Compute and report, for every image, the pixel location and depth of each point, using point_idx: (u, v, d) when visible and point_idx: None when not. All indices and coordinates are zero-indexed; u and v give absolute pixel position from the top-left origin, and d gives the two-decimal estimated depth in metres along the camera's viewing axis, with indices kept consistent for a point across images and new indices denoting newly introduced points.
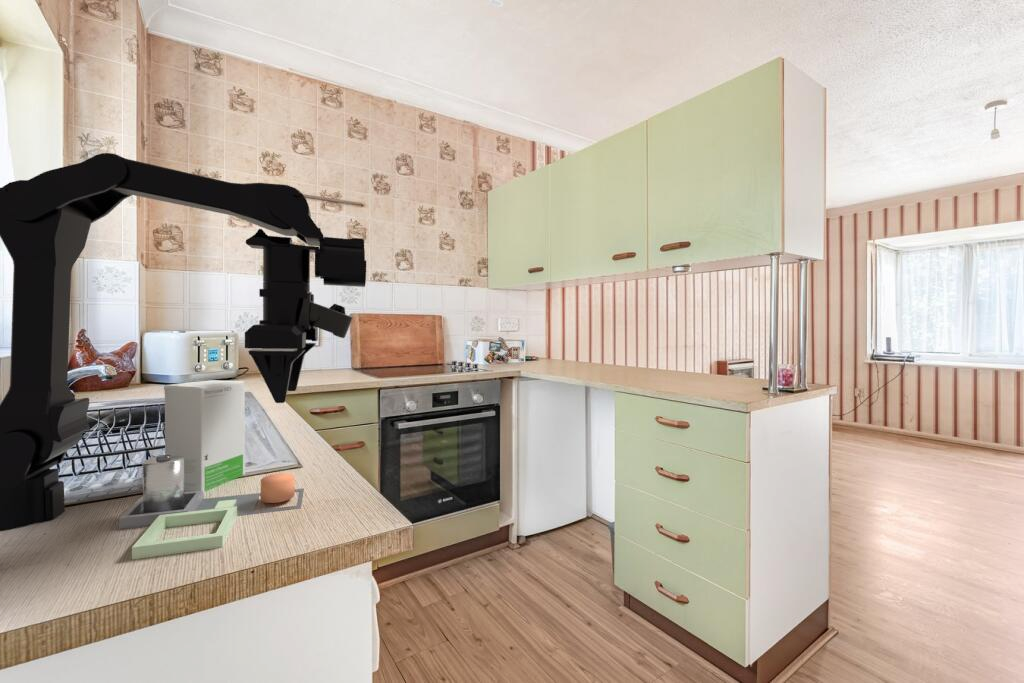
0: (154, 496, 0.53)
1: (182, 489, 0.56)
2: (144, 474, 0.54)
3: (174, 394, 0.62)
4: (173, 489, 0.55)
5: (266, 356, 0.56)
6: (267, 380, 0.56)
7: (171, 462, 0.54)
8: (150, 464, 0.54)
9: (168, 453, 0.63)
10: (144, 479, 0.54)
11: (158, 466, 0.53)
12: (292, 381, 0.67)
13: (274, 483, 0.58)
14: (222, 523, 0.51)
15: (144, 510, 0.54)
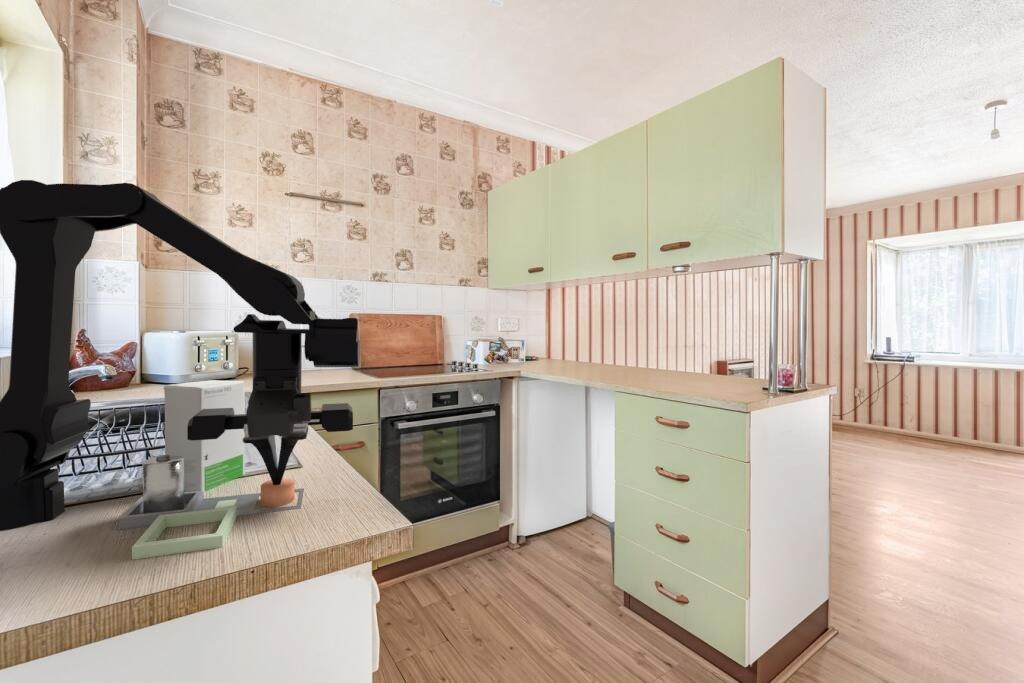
0: (154, 496, 0.53)
1: (182, 489, 0.56)
2: (144, 474, 0.54)
3: (174, 394, 0.62)
4: (173, 489, 0.55)
5: None
6: None
7: (171, 462, 0.54)
8: (150, 464, 0.54)
9: (168, 453, 0.63)
10: (144, 479, 0.54)
11: (158, 466, 0.53)
12: None
13: (274, 488, 0.58)
14: (222, 523, 0.51)
15: (144, 510, 0.54)
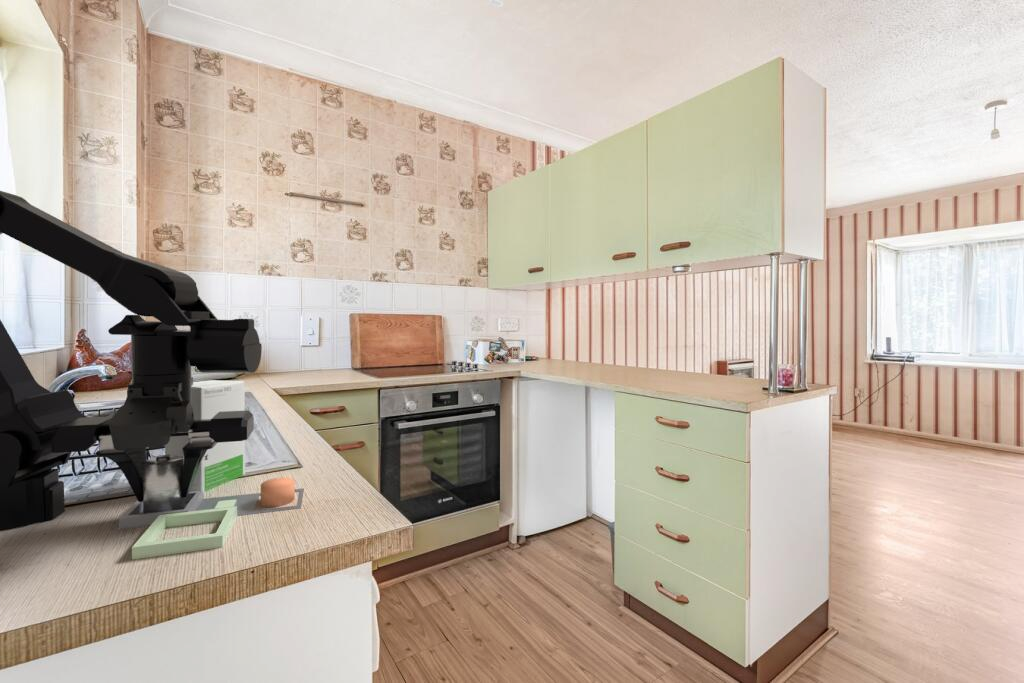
0: (154, 496, 0.53)
1: None
2: (144, 474, 0.54)
3: None
4: (173, 489, 0.55)
5: None
6: None
7: (171, 462, 0.54)
8: (150, 464, 0.54)
9: (168, 453, 0.63)
10: (144, 479, 0.54)
11: (158, 466, 0.53)
12: None
13: (274, 488, 0.58)
14: (222, 523, 0.51)
15: (144, 510, 0.54)
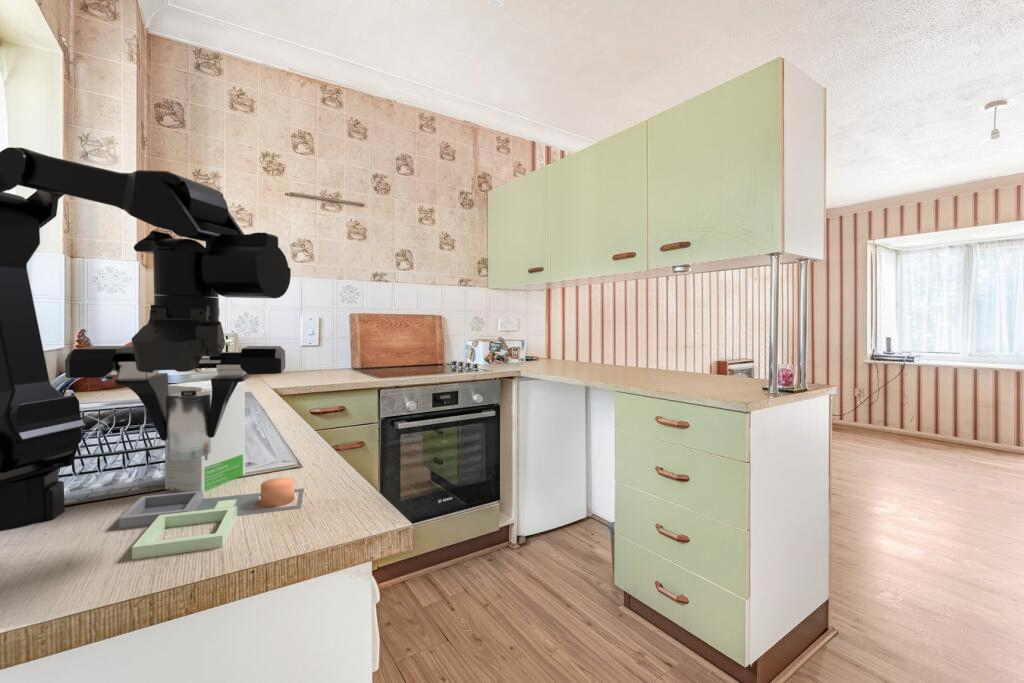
0: (180, 433, 0.48)
1: None
2: (168, 408, 0.48)
3: (174, 393, 0.62)
4: (200, 426, 0.49)
5: None
6: None
7: (197, 396, 0.49)
8: (175, 397, 0.48)
9: None
10: (168, 414, 0.48)
11: (184, 399, 0.48)
12: None
13: (274, 488, 0.58)
14: (222, 523, 0.51)
15: (168, 449, 0.48)
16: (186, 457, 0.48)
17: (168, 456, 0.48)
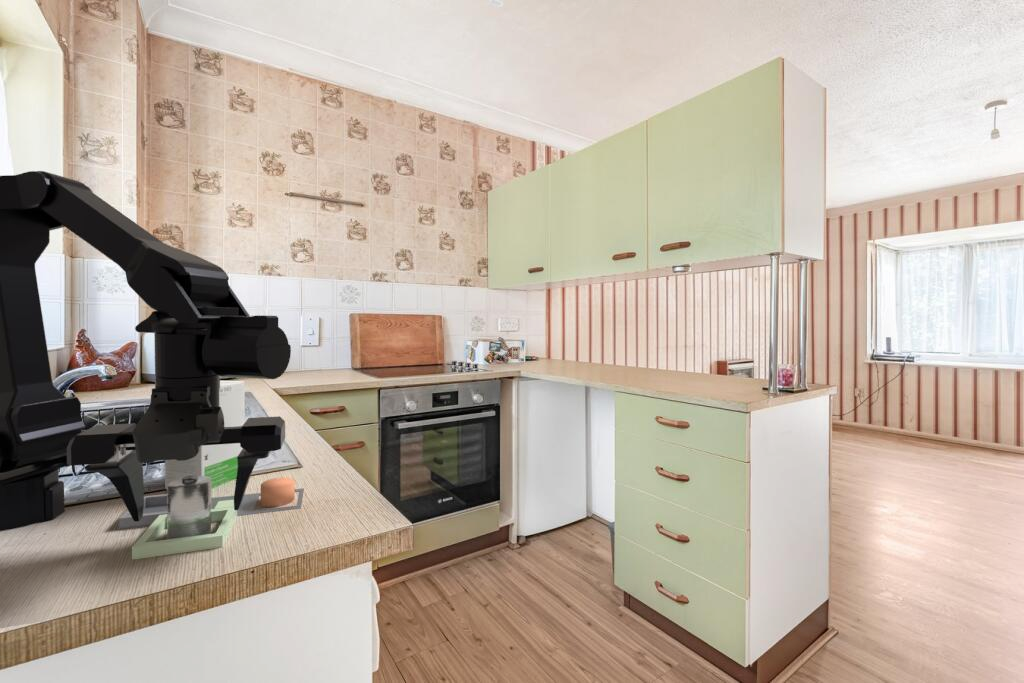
0: (180, 523, 0.48)
1: (210, 514, 0.51)
2: (169, 498, 0.48)
3: None
4: (200, 514, 0.49)
5: None
6: None
7: (198, 484, 0.49)
8: (176, 487, 0.48)
9: None
10: (169, 503, 0.48)
11: (185, 489, 0.48)
12: None
13: (274, 488, 0.58)
14: (222, 523, 0.51)
15: (168, 538, 0.49)
16: None
17: None
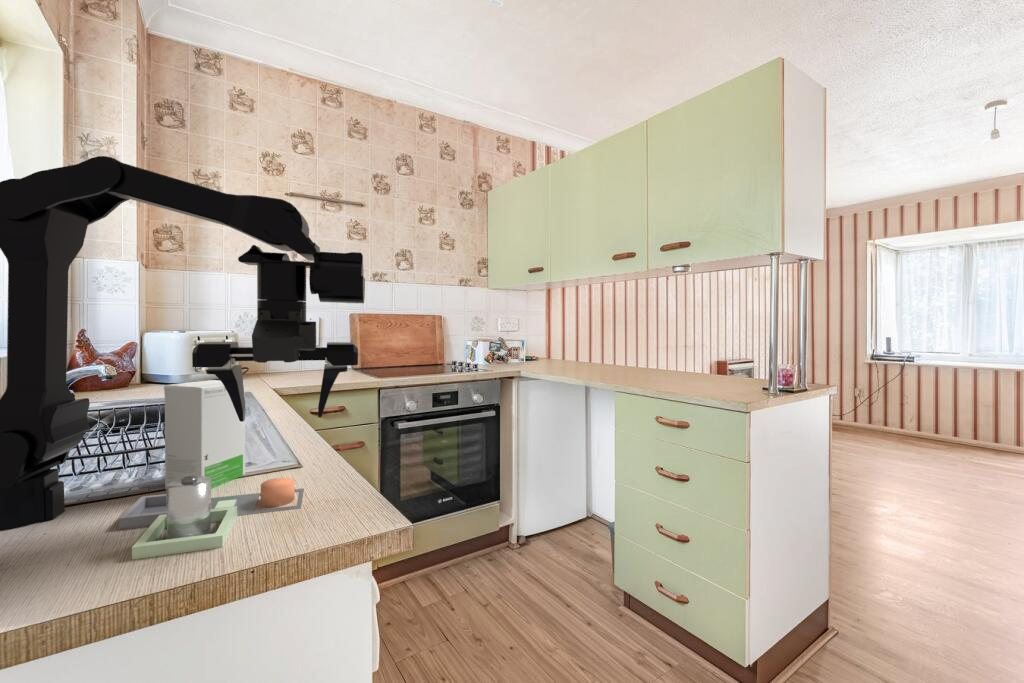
0: (180, 523, 0.48)
1: (209, 514, 0.51)
2: (168, 498, 0.48)
3: (174, 393, 0.62)
4: (200, 514, 0.49)
5: None
6: None
7: (198, 485, 0.49)
8: (175, 487, 0.48)
9: (168, 453, 0.63)
10: (168, 504, 0.48)
11: (184, 489, 0.48)
12: (318, 406, 0.61)
13: (274, 488, 0.58)
14: (222, 523, 0.51)
15: (168, 538, 0.49)
16: None
17: None
